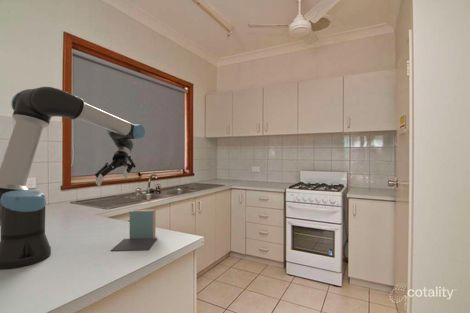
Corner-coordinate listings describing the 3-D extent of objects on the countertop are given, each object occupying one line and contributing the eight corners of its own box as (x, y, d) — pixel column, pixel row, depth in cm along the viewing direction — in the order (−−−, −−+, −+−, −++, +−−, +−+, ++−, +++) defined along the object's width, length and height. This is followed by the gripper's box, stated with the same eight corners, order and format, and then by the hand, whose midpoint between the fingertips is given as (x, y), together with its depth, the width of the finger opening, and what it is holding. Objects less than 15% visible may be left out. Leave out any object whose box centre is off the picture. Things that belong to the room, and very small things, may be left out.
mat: (148, 250, 91) (148, 249, 91) (110, 251, 91) (110, 250, 91) (157, 238, 104) (157, 238, 104) (124, 239, 103) (124, 238, 103)
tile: (152, 238, 105) (153, 211, 105) (129, 239, 104) (129, 211, 104) (155, 235, 109) (155, 209, 109) (132, 236, 108) (133, 209, 108)
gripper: (146, 155, 133) (140, 178, 116) (103, 168, 133) (90, 193, 116) (140, 143, 129) (132, 166, 112) (95, 157, 129) (81, 182, 112)
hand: (111, 180), depth 114 cm, fingers open, 13 cm apart
